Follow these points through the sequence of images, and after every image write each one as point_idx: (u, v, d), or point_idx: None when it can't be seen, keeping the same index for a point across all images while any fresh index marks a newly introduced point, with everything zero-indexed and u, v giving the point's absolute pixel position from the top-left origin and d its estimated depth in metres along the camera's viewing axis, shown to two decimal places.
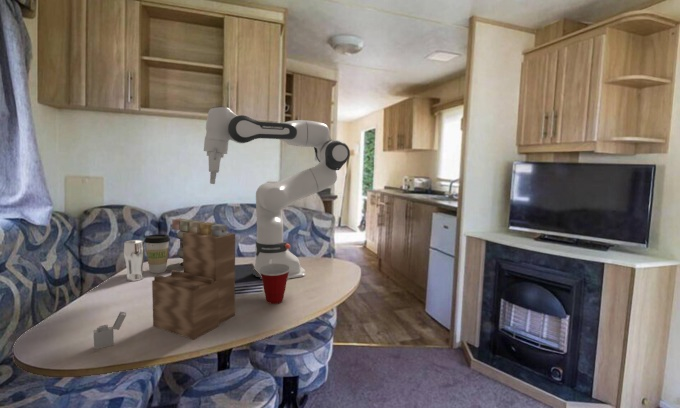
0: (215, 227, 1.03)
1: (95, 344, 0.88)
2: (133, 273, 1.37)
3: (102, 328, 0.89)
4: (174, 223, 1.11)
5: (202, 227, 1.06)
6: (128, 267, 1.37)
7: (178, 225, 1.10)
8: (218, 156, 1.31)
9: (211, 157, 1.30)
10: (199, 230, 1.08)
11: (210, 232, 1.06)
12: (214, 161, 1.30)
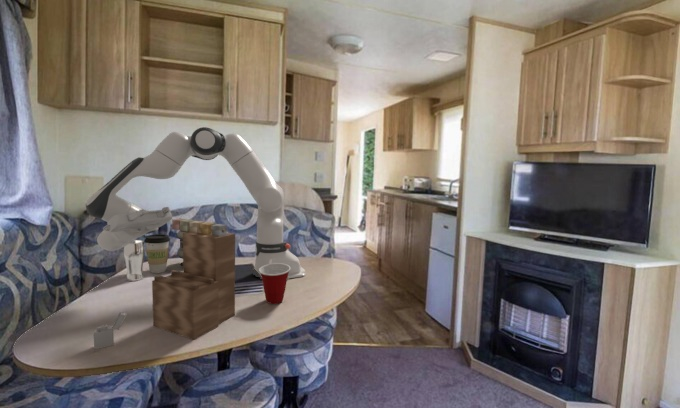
0: (215, 227, 1.03)
1: (95, 344, 0.88)
2: (133, 273, 1.37)
3: (102, 328, 0.89)
4: (174, 223, 1.11)
5: (202, 227, 1.06)
6: (128, 267, 1.37)
7: (178, 225, 1.10)
8: (107, 223, 1.12)
9: (110, 229, 1.11)
10: (199, 230, 1.08)
11: (210, 232, 1.06)
12: (110, 224, 1.11)
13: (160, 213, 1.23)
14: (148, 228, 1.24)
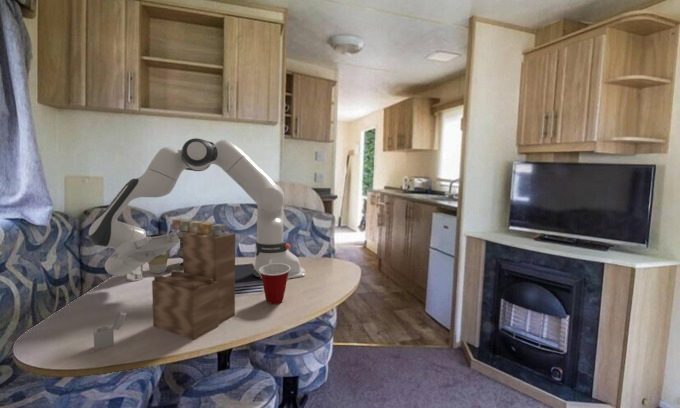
0: (215, 227, 1.03)
1: (95, 344, 0.88)
2: (133, 273, 1.37)
3: (102, 328, 0.89)
4: (174, 223, 1.11)
5: (202, 227, 1.06)
6: None
7: (178, 225, 1.10)
8: (115, 251, 1.12)
9: (118, 257, 1.11)
10: (199, 230, 1.08)
11: (210, 232, 1.06)
12: (118, 252, 1.11)
13: (167, 238, 1.22)
14: (155, 253, 1.23)
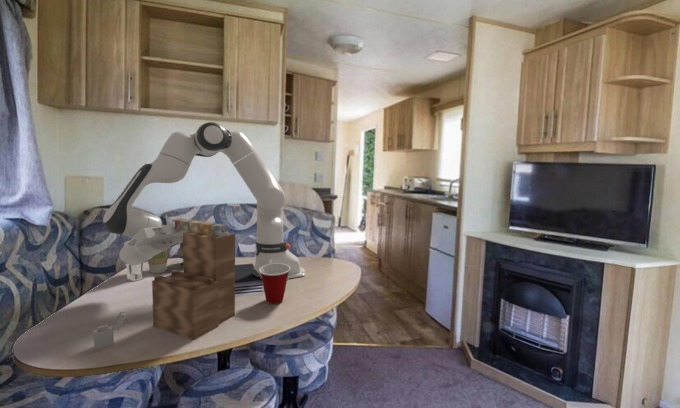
0: (215, 227, 1.03)
1: (95, 344, 0.88)
2: (133, 273, 1.37)
3: (102, 328, 0.89)
4: None
5: (202, 227, 1.06)
6: (128, 267, 1.37)
7: (178, 225, 1.10)
8: (133, 237, 1.08)
9: (136, 244, 1.07)
10: (199, 230, 1.08)
11: (210, 232, 1.06)
12: (136, 239, 1.06)
13: None
14: (173, 241, 1.19)
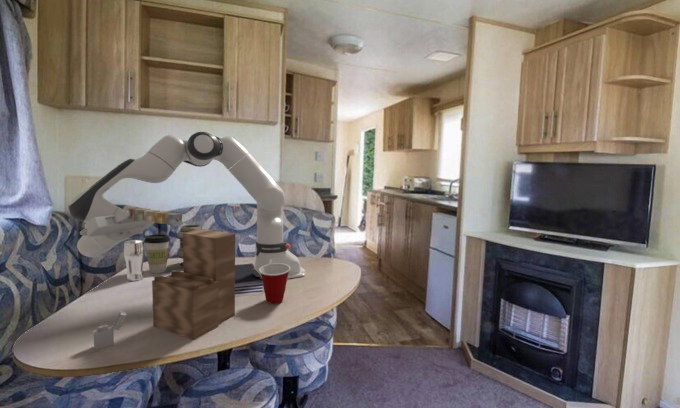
0: (169, 216, 0.98)
1: (95, 344, 0.88)
2: (133, 273, 1.37)
3: (102, 328, 0.89)
4: None
5: (156, 216, 1.01)
6: (128, 267, 1.37)
7: (133, 214, 1.05)
8: None
9: (88, 233, 1.02)
10: (154, 219, 1.03)
11: (165, 221, 1.01)
12: (87, 228, 1.01)
13: None
14: (131, 231, 1.14)
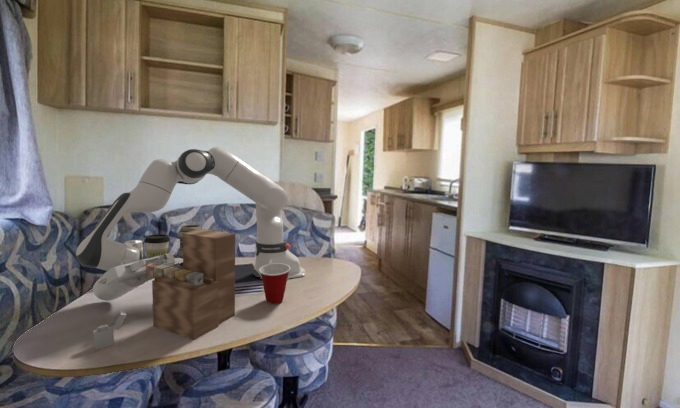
0: (190, 277, 0.97)
1: (95, 344, 0.88)
2: None
3: (102, 328, 0.89)
4: (148, 269, 1.04)
5: (177, 276, 0.99)
6: None
7: (152, 272, 1.03)
8: (103, 276, 1.00)
9: (107, 283, 1.00)
10: (174, 278, 1.01)
11: (185, 281, 0.99)
12: (107, 278, 0.99)
13: None
14: None
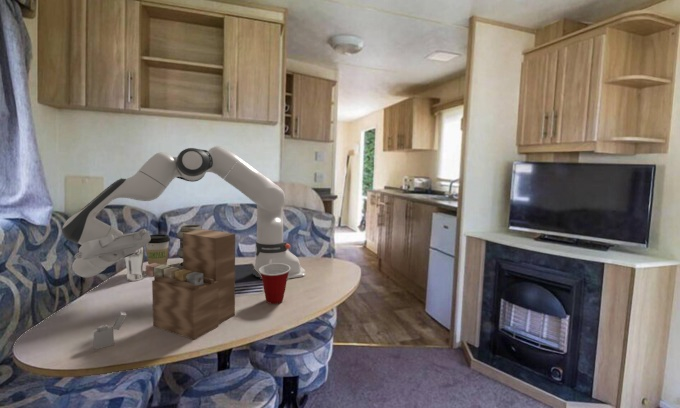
0: (190, 277, 0.97)
1: (95, 344, 0.88)
2: (133, 273, 1.37)
3: (102, 328, 0.89)
4: (148, 269, 1.04)
5: (177, 276, 0.99)
6: (128, 267, 1.37)
7: (152, 272, 1.03)
8: (79, 250, 1.05)
9: (82, 257, 1.04)
10: (174, 278, 1.01)
11: (185, 281, 0.99)
12: (82, 252, 1.03)
13: (137, 235, 1.15)
14: (125, 252, 1.16)
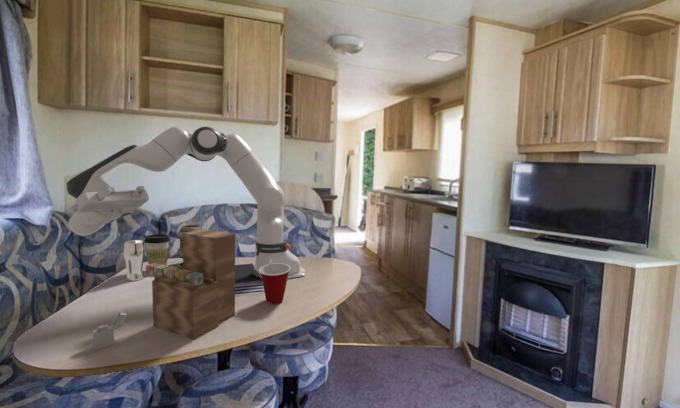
0: (190, 277, 0.97)
1: (95, 344, 0.88)
2: (133, 273, 1.37)
3: (102, 328, 0.89)
4: (148, 269, 1.04)
5: (177, 276, 0.99)
6: (128, 267, 1.37)
7: (152, 272, 1.03)
8: (75, 203, 1.03)
9: (78, 209, 1.02)
10: (174, 278, 1.01)
11: (185, 281, 0.99)
12: (78, 203, 1.02)
13: (135, 193, 1.14)
14: (122, 210, 1.15)
